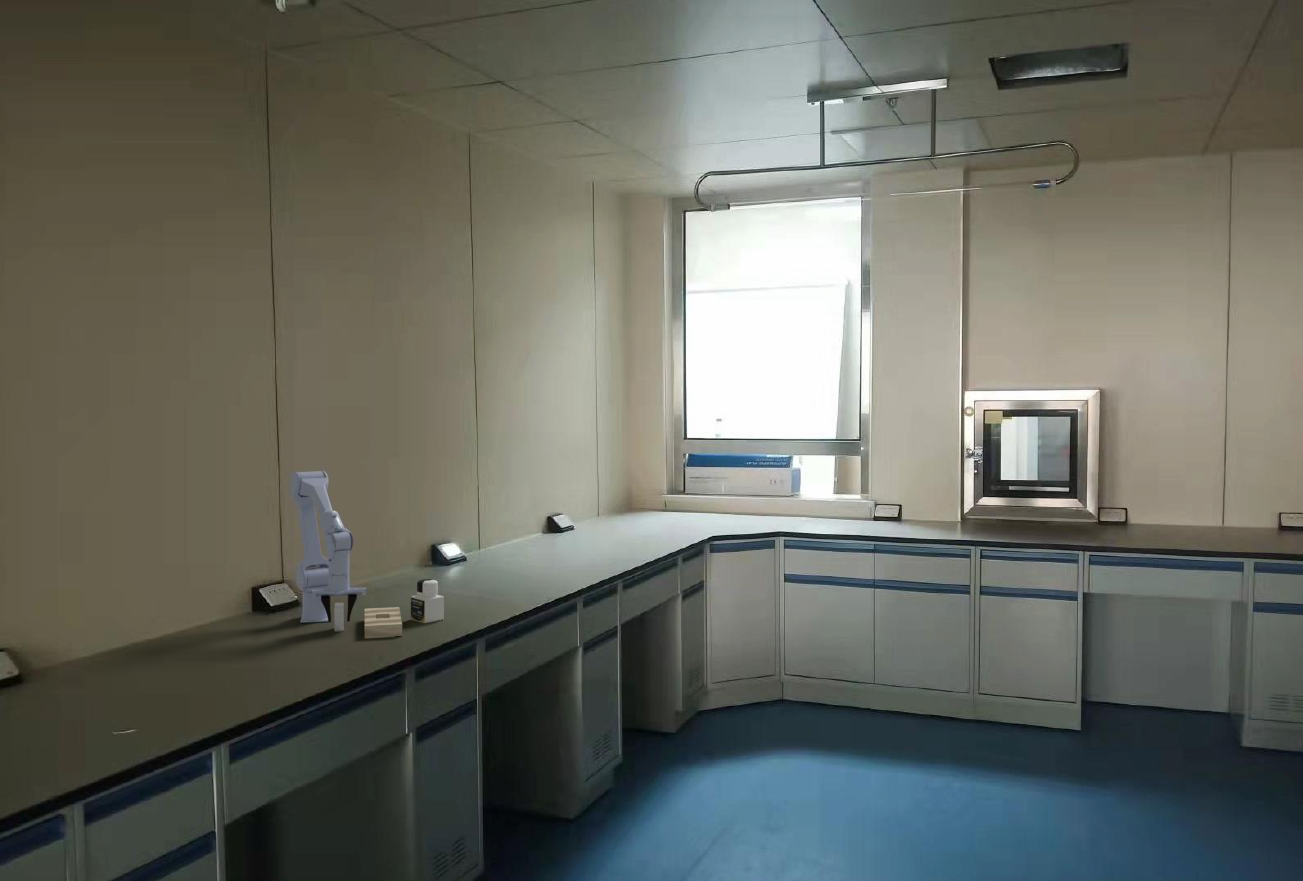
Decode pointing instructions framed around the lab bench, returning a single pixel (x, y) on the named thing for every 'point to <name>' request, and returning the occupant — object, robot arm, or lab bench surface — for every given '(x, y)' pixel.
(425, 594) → the medicine bottle
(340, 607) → the grey rectangular prism
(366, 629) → the beige slab
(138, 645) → the lab bench surface
